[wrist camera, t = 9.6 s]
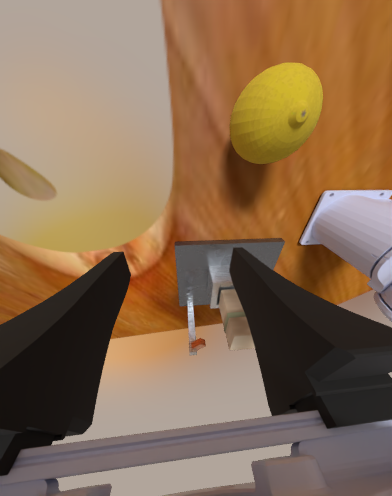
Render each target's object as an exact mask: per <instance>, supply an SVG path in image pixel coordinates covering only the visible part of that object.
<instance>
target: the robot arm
mask: <svg viewBox="0 0 392 496" xmlns="http://www.w3.org/2000/svg"><path fill="white" fill-rule="evenodd" d="M330 194H331V195H330ZM391 195H392V191H391V190H327V191H325V192H324V193H323V194H322V196H321V198H320V200H319V202H318V204H317V206H316V208H315V210H314V212H313V214H312V217H311V219H310V221H309V223H308V225H307V227H306V229H305V231H304V233H303V235H302V237H301V239H300V241H299V243H300V244H301V245H311V244H323V245H324V246H325V247H327V248H328V249H330V250H331V251H332V252H334V253H335V254H337V255H338V256H339V257H341V258H342V259H344V260H345V261H346V262H348V263H349V264H351V265H352V266H354V267H355V268H356V269H358V270H359V271H361V272H362V273H363V274H365V275H366V276H368V277H369V278H370V279H371V280H370V281H369V282H368V283H367V285H369V286H370V287H371V288H373V289H374V290H375V291H376V292H375V294H374V300H375V302H376V304H377V305H378V307H379V309H380V310H381V312H382V313H383V314H384V315H385V316H386V317H387V318H388V319H389V320H390V321H391V322H392V200H390V199H389V198H390V196H391ZM229 272H230V276H231V280H232V283H233V286H234V288H235V291H236V293H237V296H238V298H239V301H240V303H241V305H242V308H243V310H244V313H245V316H246V318H247V322H248V325H249V328H250V332H251V335H252V339H253V342H254V346H255V350H256V353H257V357H258V361H259V365H260V369H261V373H262V378H263V382H264V387H265V391H266V396H267V400H268V405H269V408H270V411H271V414H272V416H270V417H263V418H255V419H248V420H240V421H232V422H226V423H217V424H209V425H202V426H194V427H187V428H179V429H172V430H164V431H157V432H149V433H142V434H134V435H127V436H120V437H111V438H104V439H96V440H89V441H81V442H74V443H66V444H59V445H51V444H52V442H53V441H58V440H63V439H64V438H65V436H72V435H79V434H83V433H84V432H85V431H86V430H87V429H88V428H89V427H90V425H91V424H92V421H93V415H94V409H95V404H96V399H97V393H98V388H99V384H100V379H101V375H102V370H103V365H104V361H105V357H106V353H107V349H108V345H109V341H110V338H111V334H112V330H113V327H114V324H115V321H116V319H117V316H118V314H119V311H120V308H121V306H122V303H123V300H124V298H125V295H126V292H127V290H128V286H129V282H130V277H131V274H130V271H129V268H128V264H127V261H126V258H125V255H124V252H113V253H112V254H110V255H109V256H107V257H106V258H105V259H103V260H102V261H101V262H100V263H98V264H97V265H96V266H94V267H93V268H92V269H90V270H89V271H88V272H87V273H85V274H84V275H82V276H81V277H80V278H78V279H77V280H75V281H74V282H73V283H71V284H70V285H68V286H67V287H65V288H64V289H62V290H61V291H59V292H58V293H56V294H55V295H53V296H51V297H50V298H48V299H47V300H45V301H43V302H42V303H40V304H38V305H36V306H35V307H33V308H31V309H29V310H27V311H26V312H24V313H22V314H20V315H18V316H16V317H15V318H13V319H11V320H9V321H7V322H5V323H3V324H1V325H0V496H110V492H111V484H103V485H95V486H88V487H83V488H77V489H72V490H67V491H62V492H61V491H59V488H58V486H59V485H58V481H57V479H55V478H61V477H68V476H74V475H82V474H88V473H95V472H102V471H108V470H114V469H122V468H129V467H135V466H142V465H148V464H155V463H162V462H168V461H176V460H182V459H189V458H196V457H202V456H209V455H216V454H222V453H229V452H236V451H243V450H249V449H256V448H263V447H269V446H276V445H283V444H289V443H293V444H292V446H291V455H290V456H285V457H277V458H269V459H264V460H258V461H253V462H252V464H251V466H252V471H253V475H254V480H255V482H252V483H244V484H236V485H229V486H221V487H213V488H207V489H199V490H192V491H186V492H180V493H175V494H169V495H164V496H392V378H391V377H390V375H389V374H388V373H390V372H392V328H391V327H389V326H386V325H384V324H381V323H379V322H376V321H373V320H371V319H368V318H366V317H363V316H360V315H358V314H355V313H353V312H351V311H348V310H346V309H344V308H341V307H339V306H337V305H335V304H332V303H330V302H328V301H326V300H324V299H322V298H320V297H318V296H316V295H314V294H312V293H310V292H308V291H306V290H304V289H302V288H301V287H299V286H297V285H295V284H294V283H292V282H290V281H289V280H287V279H285V278H284V277H282V276H281V275H279V274H278V273H276V272H275V271H273V270H272V269H270V268H269V267H268V266H266V265H265V264H264V263H262V262H261V261H260V260H258V259H257V258H256V257H254V256H253V255H252V254H251V253H249V252H248V251H247V250H245V249H244V248H243V247H235V248H233V252H232V257H231V262H230V268H229Z"/></svg>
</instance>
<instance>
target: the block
mask: <svg viewBox="0 0 392 496" xmlns="http://www.w3.org/2000/svg"><path fill="white" fill-rule="evenodd" d="M219 308H220V312H221V317H222V321H223V325H224V331H225V333H226V338H227V342H228V346H229V350H230V351H231V350H241V349H252V348H255V346H254V342H253V339H252V335H251V332H250V328H249V325H248V322H247V318H246V316H245V313H244V310H243V308H242V305H241V303H240V301H239V298H238V296H237V293H236V291H235V289H230V290H221V295H220V301H219Z"/></svg>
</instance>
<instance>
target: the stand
mask: <svg viewBox="0 0 392 496" xmlns="http://www.w3.org/2000/svg"><path fill="white" fill-rule="evenodd" d="M284 243H285V241H284V240H283V239H282V238H271V239H242V240H213V241H184V242H175V255H176V267H177V280H178V292H179V305H180V306H188V328H189V350H190V355H196V354H197V350H199V349H200V348H203V347H205V346H206V345H205V340H204V339H201V338H200V339H198V340H196V336H195V323H194V311H193V305H207V304H209V305H210V309H211V308H219V301H220V295H221V290H230V289H235V288H234V286H233V283H232V280H231V276H230V272H229V268H230V262H231V257H232V252H233V248H235V247H243V248H244V249H245V250H247V251H248V252H249V253H251V254H252V255H253V256H254V257H256V258H257V259H258V260H260V261H261V262H262V263H264V264H265V265H266V266H268V267H269V268H270V269H272V270H273V269H274V267H275V264H276V262H277V260H278V257H279V255H280V252H281V250H282V248H283V245H284Z"/></svg>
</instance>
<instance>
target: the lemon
mask: <svg viewBox="0 0 392 496" xmlns="http://www.w3.org/2000/svg"><path fill="white" fill-rule="evenodd" d="M322 102H323V93H322V86H321V83H320V80H319V78H318V76H317V75H316V74H315V72H314V71H313V70H312V69H311V68H309V67H307V66H305V65H303V64H301V63H282V64H279V65H276V66H273V67H270V68H268V69H266V70H265V71H263V72H262V73H261V74H259V75H258V76H256V77H255V78H254V79H253V80H252V81H251V82H250V83H249V84H248V85H247V86H246V87H245V89H244V90H243V91H242V93H241V94H240V96H239V98H238V100H237V101H236V103H235V106H234V109H233V112H232V114H231V120H230V138H231V142H232V145H233V147H234V149H235V151H236V152H237V153H238V154H239V155H240V156H241V157H242V158H243V159H245V160H247V161H249V162H251V163H256V164H267V163H273V162H276V161H279V160H281V159H283V158H286V157H288V156H289V155H291V154H292V153H293V152H295V151H296V150H298V149H299V148H300V146H301V145H302V144H303V143H304V142H305V141H306V140H307V139H308V137H309V136H310V134H311V133H312V132H313V130H314V128H315V126H316V124H317V122H318V119H319V116H320V113H321V109H322Z"/></svg>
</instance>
